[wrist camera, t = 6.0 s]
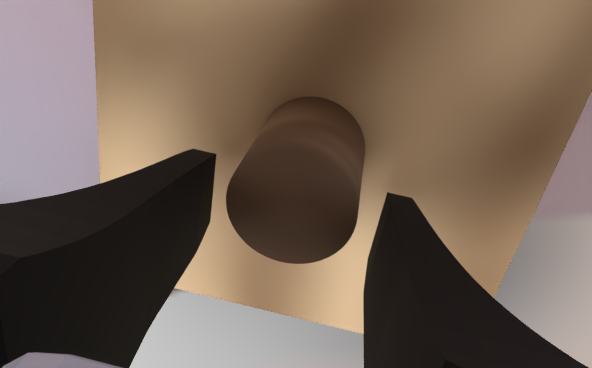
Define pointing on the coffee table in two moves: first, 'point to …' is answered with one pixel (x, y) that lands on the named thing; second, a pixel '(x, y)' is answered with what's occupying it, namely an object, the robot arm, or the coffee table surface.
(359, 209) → the oak lid
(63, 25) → the coffee table surface
